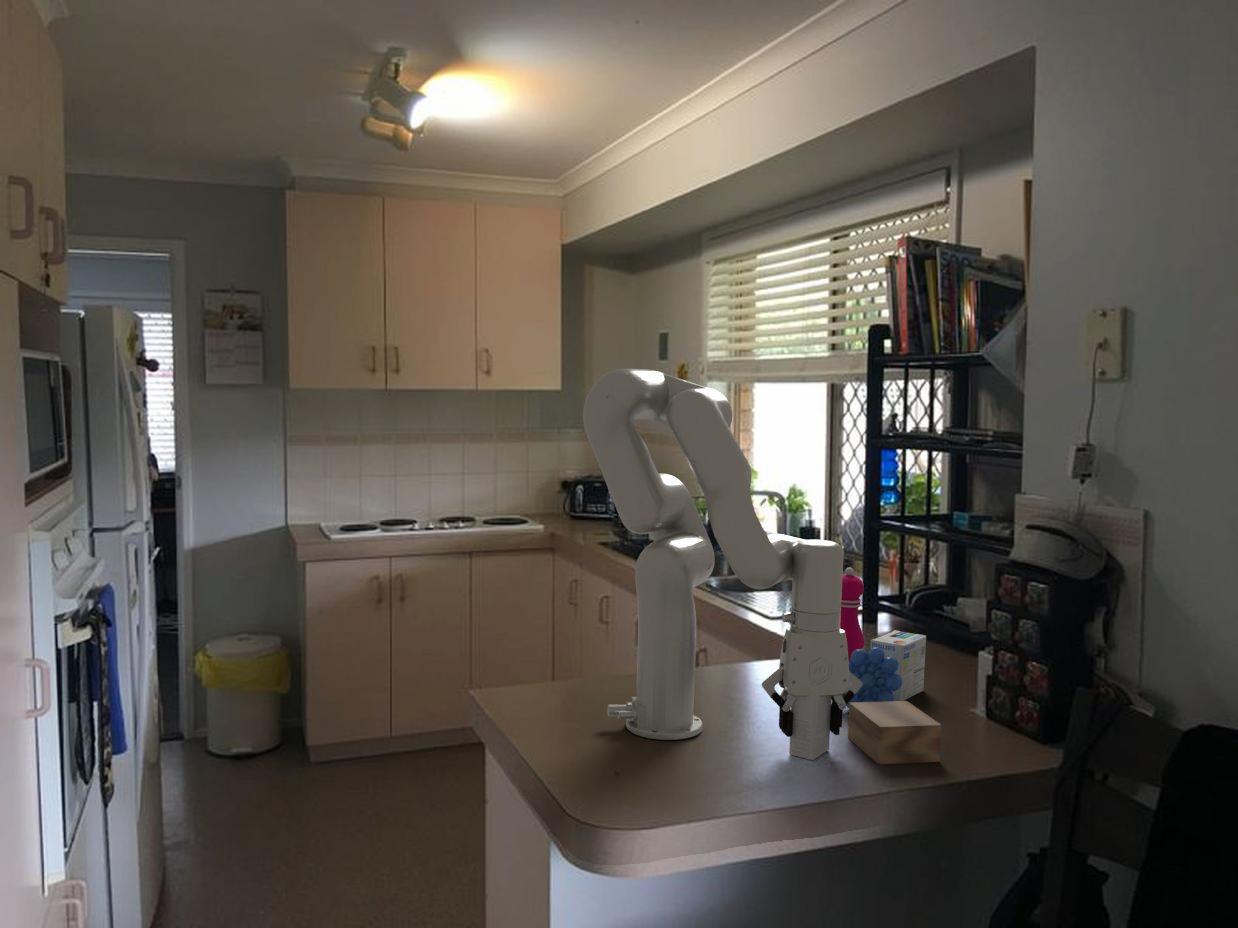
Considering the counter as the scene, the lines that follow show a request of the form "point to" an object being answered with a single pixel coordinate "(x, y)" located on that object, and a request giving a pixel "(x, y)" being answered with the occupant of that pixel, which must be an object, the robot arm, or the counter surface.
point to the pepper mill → (851, 611)
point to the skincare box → (810, 724)
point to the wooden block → (894, 732)
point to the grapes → (874, 676)
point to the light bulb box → (905, 660)
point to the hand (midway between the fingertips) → (810, 732)
